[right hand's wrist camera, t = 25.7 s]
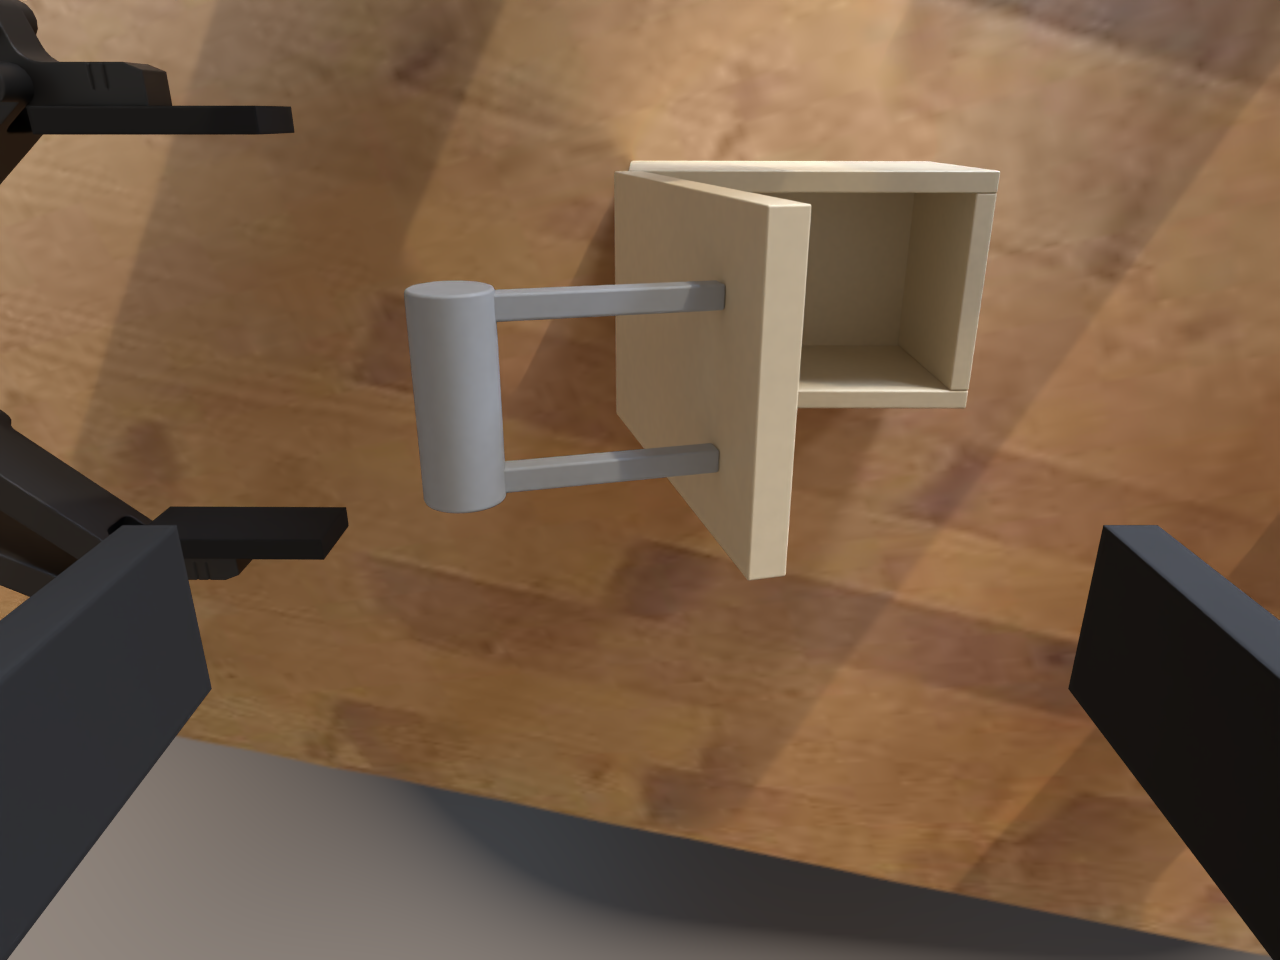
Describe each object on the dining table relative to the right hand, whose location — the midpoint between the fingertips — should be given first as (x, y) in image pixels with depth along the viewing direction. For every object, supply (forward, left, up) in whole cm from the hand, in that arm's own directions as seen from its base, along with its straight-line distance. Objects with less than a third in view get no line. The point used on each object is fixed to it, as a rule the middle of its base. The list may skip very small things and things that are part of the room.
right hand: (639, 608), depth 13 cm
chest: (-4, +6, -34) cm, 35 cm away
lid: (-1, +2, -17) cm, 18 cm away
